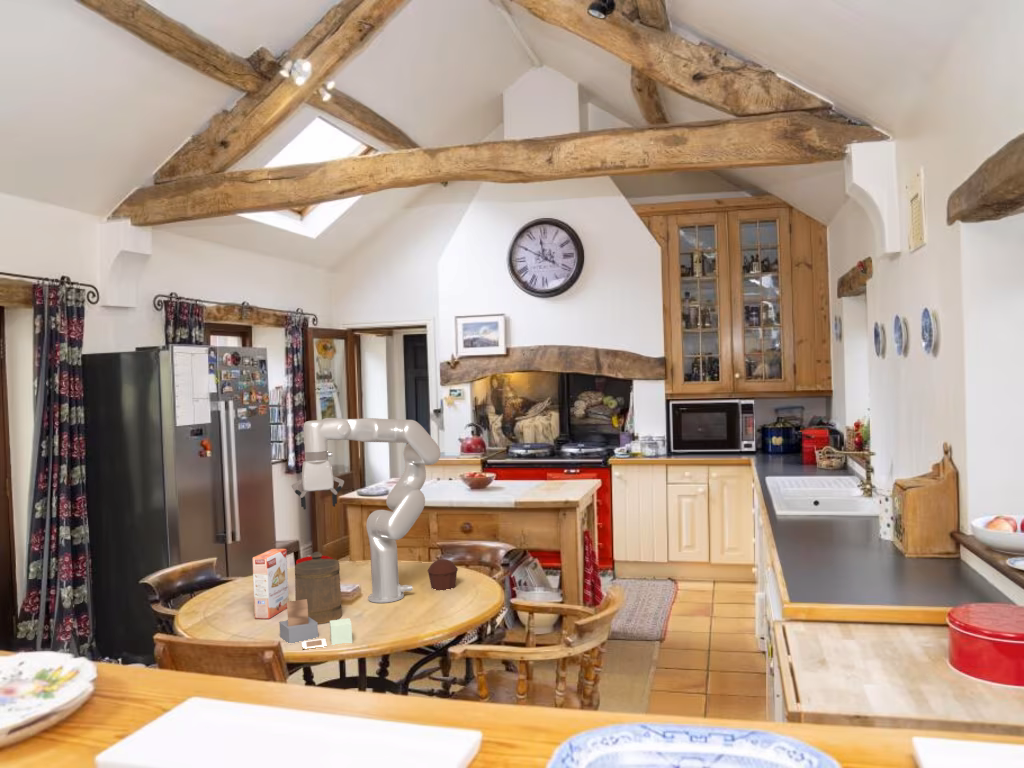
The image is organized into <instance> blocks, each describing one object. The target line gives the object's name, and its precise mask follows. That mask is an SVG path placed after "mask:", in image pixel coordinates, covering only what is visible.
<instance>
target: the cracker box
mask: <svg viewBox="0 0 1024 768" xmlns="http://www.w3.org/2000/svg"><path fill="white" fill-rule="evenodd" d="M287 553H288V550H287V548H271V549H269V550H266V551H265V552H262V553H260V554H257V555H256V556H253V557H252V579H253V580H252V582H253V585H252V586H253V603H254V605H253V606H254V608H253V609H254V619H262V620H263V619H264V620H270V619H272V618H273V617H274V616H276V615H278V614H279V613H281V612H282V611H284V610H287V602H288V601H289V581H288V579H289V578H288V555H287Z"/></svg>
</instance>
